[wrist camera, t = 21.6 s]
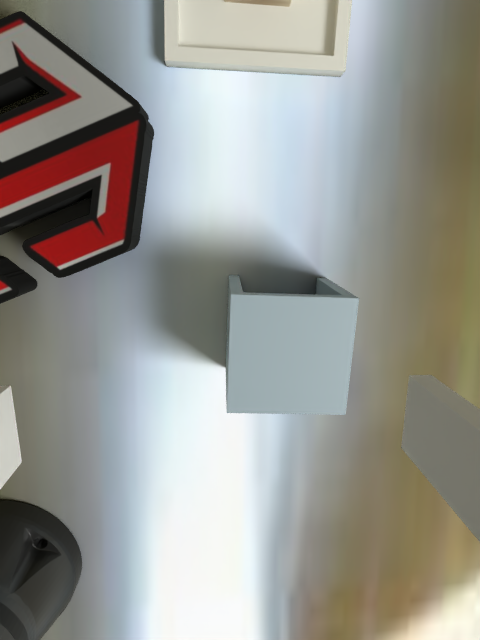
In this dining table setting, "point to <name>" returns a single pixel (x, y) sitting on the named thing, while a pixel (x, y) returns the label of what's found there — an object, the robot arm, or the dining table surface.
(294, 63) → the tray
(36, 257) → the emblem
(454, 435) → the robot arm
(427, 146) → the dining table surface
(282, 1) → the block
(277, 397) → the open box
